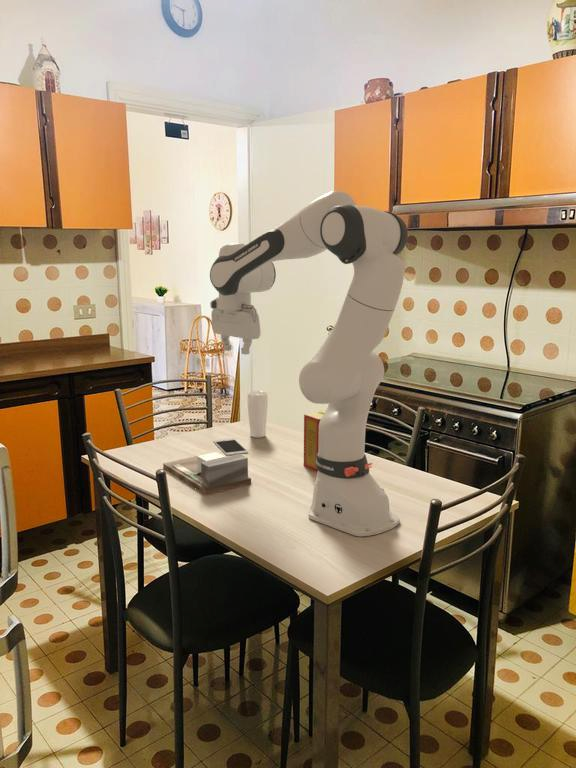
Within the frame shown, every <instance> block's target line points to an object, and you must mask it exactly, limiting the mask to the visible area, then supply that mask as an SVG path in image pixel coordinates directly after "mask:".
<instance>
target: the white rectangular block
mask: <svg viewBox="0 0 576 768" xmlns="http://www.w3.org/2000/svg"><path fill="white" fill-rule="evenodd" d="M196 456H197V467H198V473H196V474H194V476H197V475H201V463H202V462H206V461H211V460H215V459H220V458H224V457H226V455H223V454H220V453H219V452H217V451H215V452H209V453H205V454H200V455H196Z"/></svg>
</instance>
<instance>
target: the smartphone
mask: <svg viewBox="0 0 576 768" xmlns="http://www.w3.org/2000/svg"><path fill="white" fill-rule="evenodd" d="M212 442H213V444H214V445H216V446H217V448H218V449H219V450H221V452H222V453H223V454H224V456H225V457H229V456H233V455H238V454H241V455H244V454H249V450H247V449H246V448H245V447H244V446H243V445H242V444H241V443H240V442H239V441H238V440H236V439H235V438H223V439H214V440H213V441H212Z"/></svg>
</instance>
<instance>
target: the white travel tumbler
mask: <svg viewBox="0 0 576 768" xmlns="http://www.w3.org/2000/svg"><path fill="white" fill-rule="evenodd" d="M268 402H269V400H268V392H267V391H263V390H253V391H248V392H247V411H248V414H247V415H248V421H249V422H248V423H249V425H248V426H249V435H250V437H252V438H256V439H257V438H264V437H265V436H266V434H267V417H268V406H269V404H268Z"/></svg>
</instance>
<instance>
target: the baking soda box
mask: <svg viewBox="0 0 576 768" xmlns="http://www.w3.org/2000/svg"><path fill="white" fill-rule="evenodd" d="M326 410H327V409H325V410H320V411H316V412H309V413H306V414H303V467H305V468H307V469H309V470H311V471H313V472H314V471H315V473H318V470H317V468H316V458H317V453H318V445H319V423H320V420H321V418H322V417H323V415H324V414H325V412H326Z"/></svg>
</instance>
